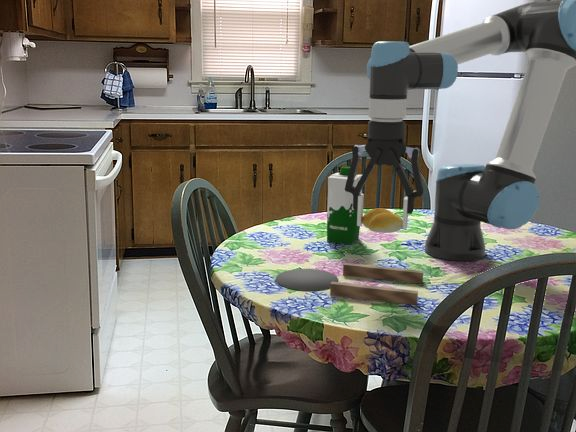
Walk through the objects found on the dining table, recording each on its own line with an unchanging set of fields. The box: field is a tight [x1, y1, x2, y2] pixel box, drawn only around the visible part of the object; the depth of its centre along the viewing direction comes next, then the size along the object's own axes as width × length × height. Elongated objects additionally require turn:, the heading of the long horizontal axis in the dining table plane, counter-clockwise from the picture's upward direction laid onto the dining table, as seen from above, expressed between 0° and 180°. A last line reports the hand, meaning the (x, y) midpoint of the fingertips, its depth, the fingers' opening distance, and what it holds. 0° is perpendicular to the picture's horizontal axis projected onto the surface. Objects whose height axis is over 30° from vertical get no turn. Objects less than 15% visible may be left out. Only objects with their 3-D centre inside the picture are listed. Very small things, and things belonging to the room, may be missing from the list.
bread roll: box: [362, 207, 403, 234], centre depth 135 cm, size 8×9×4 cm
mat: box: [275, 268, 339, 292], centre depth 143 cm, size 14×14×1 cm
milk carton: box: [326, 165, 363, 245], centre depth 173 cm, size 9×9×20 cm
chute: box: [329, 262, 425, 306], centre depth 138 cm, size 18×15×2 cm
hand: (382, 226), depth 135 cm, fingers closed on bread roll, 9 cm apart
